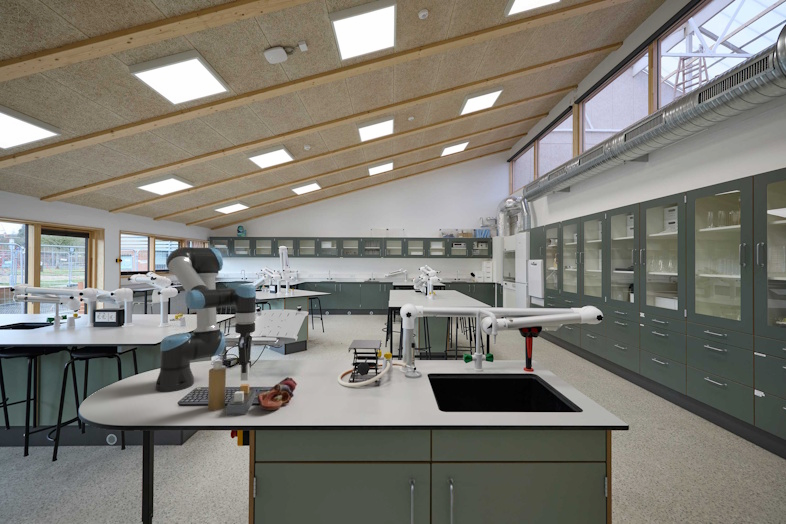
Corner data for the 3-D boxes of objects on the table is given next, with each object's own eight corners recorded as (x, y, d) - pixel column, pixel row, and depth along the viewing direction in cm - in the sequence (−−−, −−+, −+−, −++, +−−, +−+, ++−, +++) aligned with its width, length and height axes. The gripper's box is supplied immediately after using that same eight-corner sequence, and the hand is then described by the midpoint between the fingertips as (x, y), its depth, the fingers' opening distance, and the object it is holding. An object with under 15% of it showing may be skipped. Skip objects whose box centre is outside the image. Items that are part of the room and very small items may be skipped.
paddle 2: (241, 392, 144) (241, 384, 144) (249, 391, 145) (249, 384, 145) (240, 393, 142) (240, 386, 142) (247, 393, 143) (247, 385, 143)
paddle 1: (235, 399, 136) (235, 391, 136) (243, 399, 137) (243, 391, 137) (234, 401, 134) (234, 393, 134) (242, 401, 135) (242, 393, 135)
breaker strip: (242, 393, 153) (242, 384, 153) (259, 392, 154) (259, 384, 154) (226, 415, 131) (226, 405, 131) (245, 414, 132) (245, 404, 132)
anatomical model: (250, 398, 133) (278, 366, 140) (259, 402, 145) (284, 372, 151) (271, 416, 131) (299, 383, 137) (278, 419, 142) (303, 388, 149)
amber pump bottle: (211, 404, 141) (212, 360, 141) (227, 404, 142) (228, 359, 142) (205, 410, 135) (206, 364, 135) (222, 410, 136) (223, 364, 136)
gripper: (240, 319, 149) (239, 375, 149) (230, 325, 136) (230, 385, 136) (258, 319, 150) (257, 374, 150) (250, 325, 137) (250, 385, 137)
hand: (244, 379), depth 143 cm, fingers closed
